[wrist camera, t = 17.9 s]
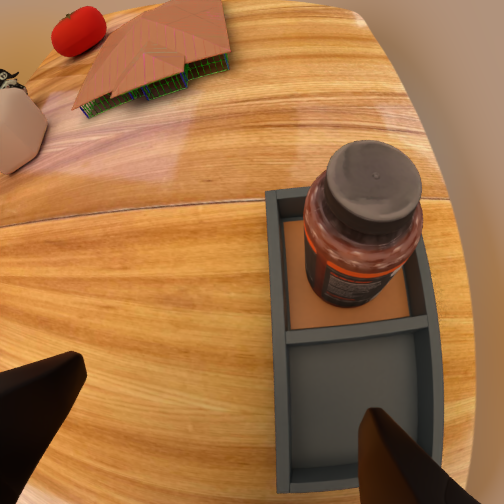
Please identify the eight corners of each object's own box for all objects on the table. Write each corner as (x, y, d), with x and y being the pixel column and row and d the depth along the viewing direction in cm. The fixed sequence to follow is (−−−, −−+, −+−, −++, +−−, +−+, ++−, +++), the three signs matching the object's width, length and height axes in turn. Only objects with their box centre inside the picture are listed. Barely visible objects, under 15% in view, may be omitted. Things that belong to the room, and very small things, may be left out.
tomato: (111, 27, 52) (93, -6, 42) (113, 41, 47) (91, 2, 36) (68, 53, 52) (48, 23, 42) (64, 72, 47) (39, 37, 36)
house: (78, 137, 34) (46, 100, 27) (120, 37, 47) (105, 10, 40) (238, 82, 32) (222, 27, 24) (223, 2, 45) (213, -29, 37)
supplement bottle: (396, 294, 20) (469, 223, 9) (319, 321, 20) (333, 271, 10) (367, 222, 22) (401, 113, 12) (295, 244, 22) (281, 139, 12)
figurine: (-9, 155, 42) (7, 140, 36) (-33, 101, 33) (-20, 75, 27) (25, 130, 49) (48, 113, 43) (3, 78, 39) (24, 52, 33)
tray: (395, 203, 23) (406, 179, 20) (423, 456, 15) (441, 468, 12) (270, 214, 24) (264, 190, 21) (281, 475, 17) (276, 493, 14)
